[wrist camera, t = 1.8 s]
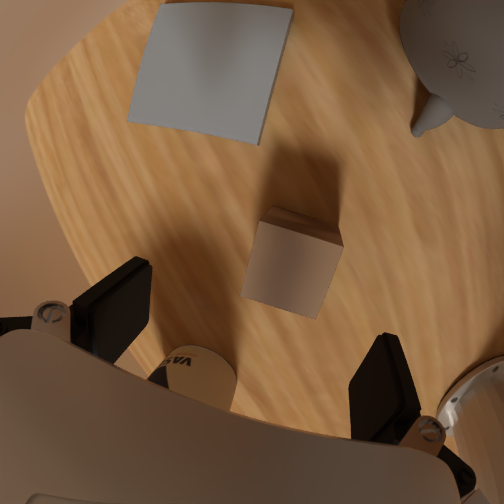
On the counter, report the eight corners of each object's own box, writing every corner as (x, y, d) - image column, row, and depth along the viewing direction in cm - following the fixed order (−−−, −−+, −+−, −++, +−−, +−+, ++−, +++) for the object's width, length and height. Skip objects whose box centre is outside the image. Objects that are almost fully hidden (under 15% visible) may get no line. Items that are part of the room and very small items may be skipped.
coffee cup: (200, 322, 26) (134, 418, 15) (263, 388, 27) (232, 490, 16) (145, 356, 29) (85, 431, 18) (202, 411, 30) (162, 491, 19)
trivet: (294, 13, 16) (293, 9, 15) (259, 145, 20) (256, 145, 19) (165, 7, 17) (160, 4, 16) (132, 122, 21) (126, 121, 20)
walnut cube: (338, 225, 20) (343, 246, 16) (317, 285, 22) (315, 319, 18) (272, 205, 21) (259, 220, 16) (255, 266, 23) (239, 295, 18)
